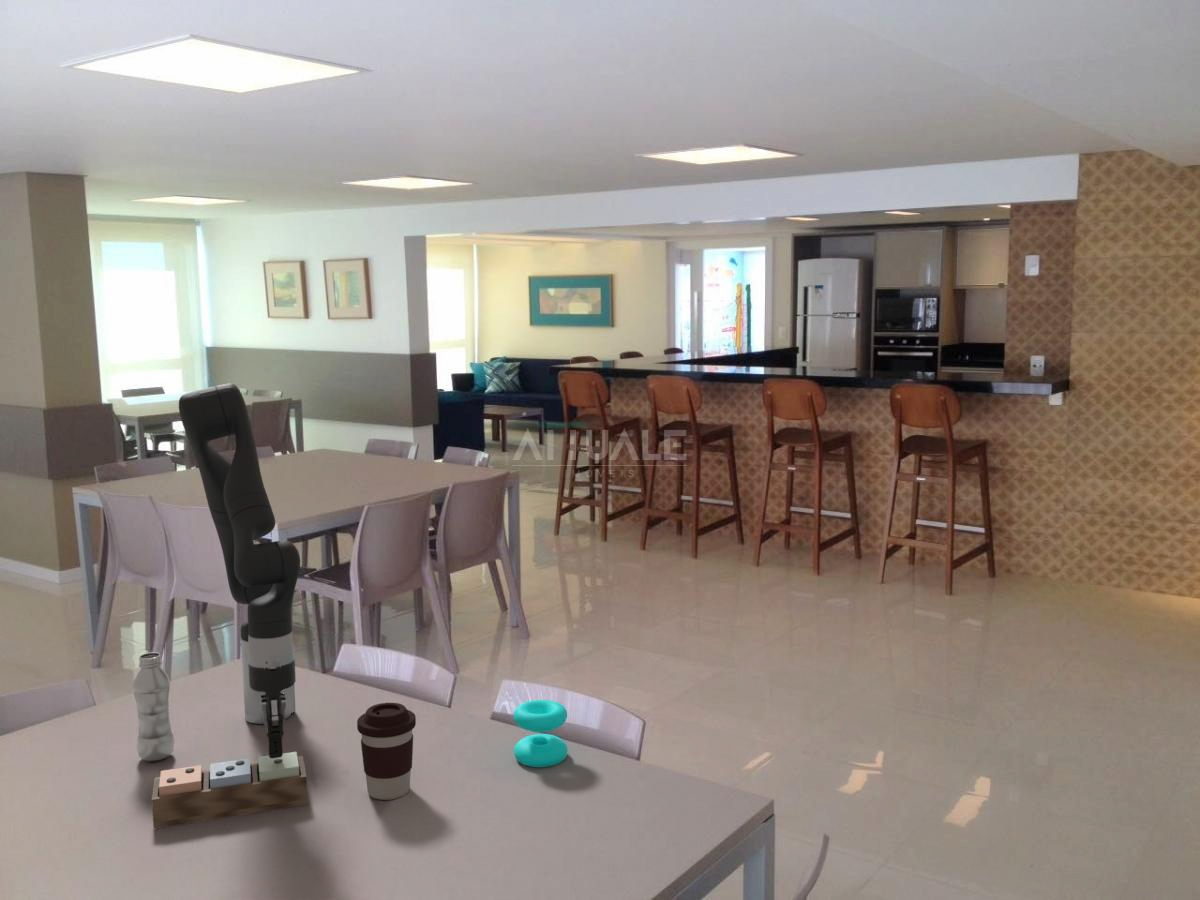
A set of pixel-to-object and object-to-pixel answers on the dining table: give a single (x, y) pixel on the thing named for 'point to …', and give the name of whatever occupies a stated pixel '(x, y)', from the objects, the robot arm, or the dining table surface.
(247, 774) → the button three
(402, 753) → the coffee cup
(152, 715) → the plastic bottle
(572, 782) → the dining table surface
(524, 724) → the donuts
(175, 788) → the button two
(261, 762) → the button one
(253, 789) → the dice tray set
